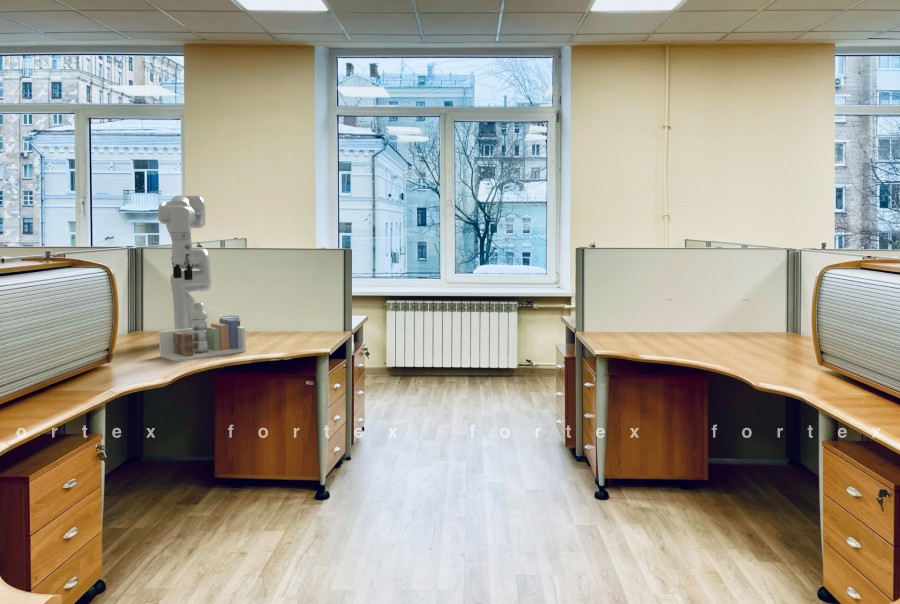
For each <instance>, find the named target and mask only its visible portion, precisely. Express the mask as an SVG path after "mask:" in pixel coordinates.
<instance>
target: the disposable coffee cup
mask: <svg viewBox="0 0 900 604" xmlns="http://www.w3.org/2000/svg"><path fill="white" fill-rule="evenodd" d="M221 318H229V319H234V320H237V322H238V327H241V321H242V318H241V315H223V316H219V320H218V321H219V322H220V319H221Z"/></svg>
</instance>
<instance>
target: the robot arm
mask: <svg viewBox="0 0 900 604" xmlns="http://www.w3.org/2000/svg"><path fill="white" fill-rule="evenodd" d="M157 209H158V210H157V218H158V219H157V220H158V221H159V222H160V224H163V225H165V226H166V227H165V228H166V230H167V232H168V234H169V237H170V240H171V257H170V258H171V259H170V260H171V265H172V273H171V276H170V278H169V281H170V288H171V291H172V292H171V293H172V301H173V318H174V319H173V321H174V322H173V323H174V324H173V325H174V330H181V329H190V328H192V322H191V314H192V312H193V311H194V308H193V307H194V304H195V303H196V300H195V298H194V297H193V296H192V295H191V292H207V291H210V289H211V287H212V277H211V259H210V254H209V252H208V250H207V249H206V248H202V247H201V248H193V244H192V243H193V242H192V236H191V235H192V232H191V231H192V230H191V229H202V228H204V226H205V225H206V204H205V201H204V199H203V198H202V197H201V196H200V195H187V194H185V195H183V194H182V195H176V196H174V197H172V198H171V200H169V201H164V202H161V203H160V204H159V206H158V208H157ZM196 269H197V270H196Z"/></svg>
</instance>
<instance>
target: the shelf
mask: <svg viewBox="0 0 900 604" xmlns="http://www.w3.org/2000/svg"><path fill="white" fill-rule="evenodd" d="M219 320H220V321H219V322H212V323H210V325H209V326H208V325H207V329H206V330H207V339H208V343H209V348H208V350H207V351H204V352H195V351H193V355H189V356H185V355H181V354H178V353H175V352H174V334H173V333H177V332H182V333H186V334H190V335H192V339H193V328H190V329H181V330H175V329H173V330H163V331H158V344H159V357H160V358H163V359H167V360H170V361H173V362H182V361H187V360H188V361H190V360H195V359H202V358H209V357H210V358H211V357H216V356H223V355H232V354H239V353H245V352H247V349H246V348H247V347H246V346H247V345H246V344H247V343H246V341H247V340H246V327H243V326H240V327H238V322H237V320H234V319H229V318H221V319H220V318H219Z"/></svg>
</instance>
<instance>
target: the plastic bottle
mask: <svg viewBox="0 0 900 604" xmlns="http://www.w3.org/2000/svg"><path fill="white" fill-rule="evenodd" d="M193 308H194V311H193V312H192V314H191V322H192V328H193V351H195V352H204V351H207V350H208V348H209V343H208V339H207V330H206V329H207V327H208V325H207V324H208V315H207V312H206V311H205V310H204V303H203V302H197V303H195V304H194V307H193Z"/></svg>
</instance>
